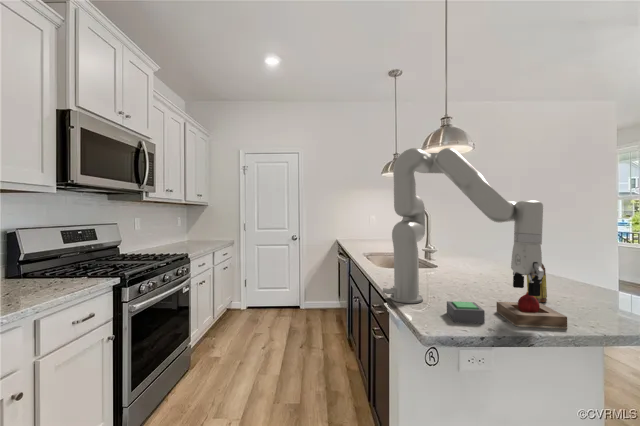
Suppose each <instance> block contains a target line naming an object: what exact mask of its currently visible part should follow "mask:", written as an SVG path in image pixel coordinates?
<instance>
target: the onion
mask: <svg viewBox="0 0 640 426" xmlns="http://www.w3.org/2000/svg"><path fill="white" fill-rule="evenodd" d="M517 302H518V307H519V309H520V310H521V311H522V312H531V313H537V312H538V311H539V308H540V305H539V303H540V302H538V300H537V299H536V298H535V297H534V296H530V295H528V291H527V290H526V293H525V294H523V295H521V297H519V298H518V300H517Z"/></svg>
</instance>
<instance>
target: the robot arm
mask: <svg viewBox="0 0 640 426" xmlns="http://www.w3.org/2000/svg"><path fill="white" fill-rule="evenodd" d="M415 172H416V173H421V174H444V175H445V176H446V177H447V178H448V179H449V180H450V181H452V183H453V184H454V185H455V186H456V187H457V188H458V189H459V190H460V191H461V192H462V193H463V194H464V195H465V196H466V197H467V198H468V199H469V200H470V201H471V203H472V204H474V206H475V207H476V208H477V209H478V210H479V211H480V212H481V213H482V214H483V215H484V216H486V217H487V218H488V219H489V220H490V221H492V222H494V223H500V224H501V223H507V222H514V227H513V228H514V229H513V246H512V251H511V252H512V253H511V263H510V268H511V270H512V275H513V276H512V288H515V289H516V288H517V289H518V288H519V289H523V288H525V276H527V274H528V277H529V280H530V282H529V283H528V295H530V296H540V289H541V283H542V279H543V275H544V271H543V269H542V264H543V257H542V256H543V255H542V253H541V252H542V244H543V222H544V221H543V220H544V219H543V218H544V204H543V203H542V202H541V201H539V200H519V201H511V200H507V199H505V198H504V197H503V196H502V195H501V194H500V193H499V192H497V190H495V188H493V187H492V186H491V185H490V184H489V183H488V182H487V180H486V179H485V177H484V176H483V174H482V173H481V172H480V171H479V170H477V168H475V167H474V166H473V165H472V164H471V163H470V162H468V160H467V159H466V158H465V157H463V155H462V153H460V152H459V151H457V150H456V149H454V148H451V147H446V148H443V149H441V150H440V151H438V152H426V151H425V150H422V149H421V148H416V147H413V148H409V149H406V150H404V151H403V152H402V153H400V154H399V156H398V157H397V158H396V159H395V162H394V165H393V173H392V174H393V209H394V211H395V214H397V215H398V216H399V217H402V220H401V221H398V222H397V223H396V224H395V225H394V226H393V227H392V228H393V229H392V232H391V239H392V240H391V241H392V246H393V247H392V248H393V272H394V273H393V275H394V276H393V279H394V280H393V281H394V282H393V283H394V285H392V287H390V288H387V287H385V288H382V294H386V295H390V299H391V300H392V301H393V302H397V303H401V304H418V303H421V302H423V301H424V297H423V295H421V294H420V282H419V281H420V277H419V273H420V272H419V268H420V267H419V266H420V265H419V247H418V242H420V241H421V240H423V238H424V237H425V235H426V234H425V233H426V209H425V203H424V201H423V199H422V198H421V197H420V196H419V195H417V193H416V190H417V189H416V187H417V186H416V185H417V184H416V179H415ZM532 276H535V277H534V278H533V277H532Z"/></svg>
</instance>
